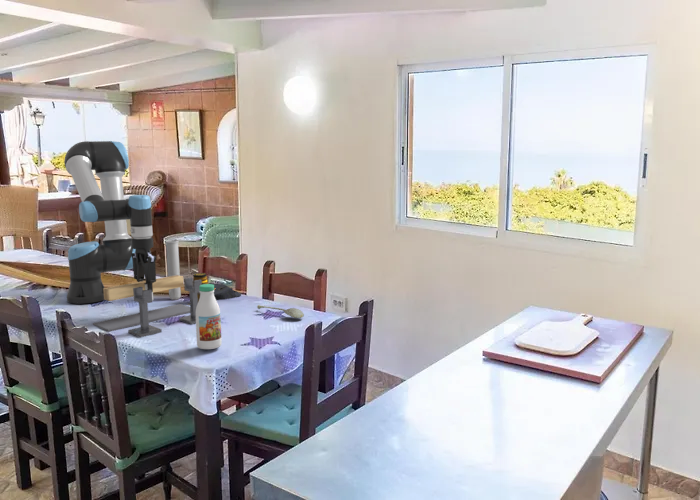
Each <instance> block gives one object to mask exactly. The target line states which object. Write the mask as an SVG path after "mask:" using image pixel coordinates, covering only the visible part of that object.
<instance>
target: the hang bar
mask: <svg viewBox="0 0 700 500" xmlns="http://www.w3.org/2000/svg"><path fill="white" fill-rule="evenodd" d="M144 283H146V281H145V280H144V281H142V282H137V281H136V282H133V283H128V284H121V285H114V286H109V287H105V288H103V291H104V300H105V301H108V302H113V301H119V300H122V299H127V298H132V297H133V298H134V294H133V288H137V287H143V290H145V284H144ZM152 285H153V294H154V293H158V292H164V291H169V289H174V288H179V287H180V288H183V287H184V276H183V275H180V276H179V275H176V276H170V277H168V276H165V277H158V278H156V282H153V284H152Z"/></svg>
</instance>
